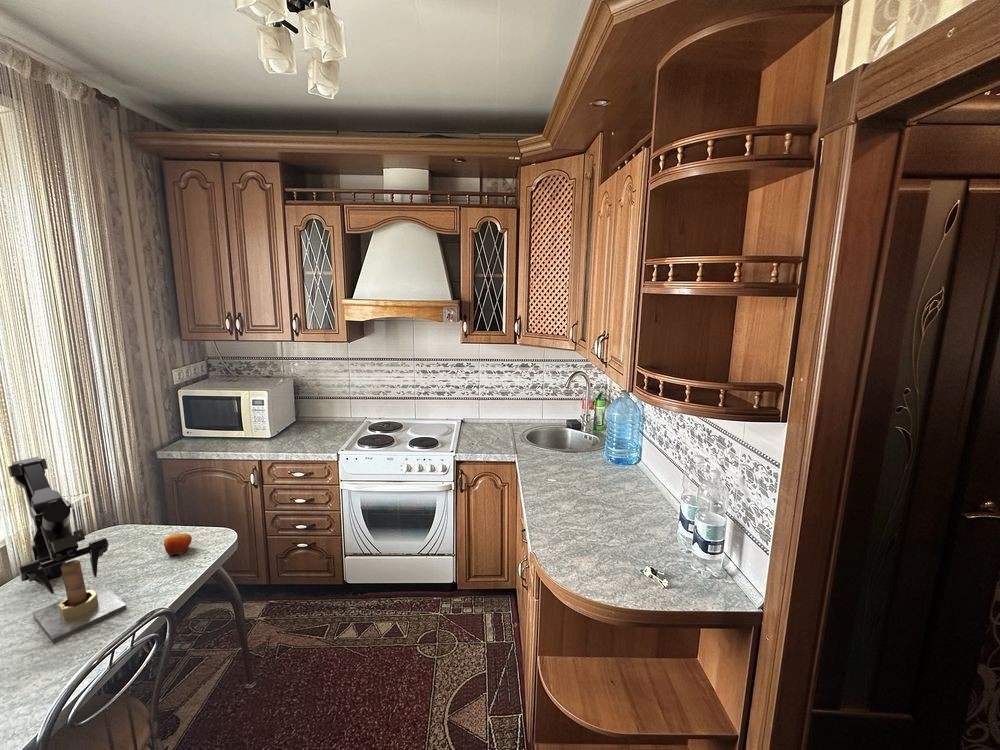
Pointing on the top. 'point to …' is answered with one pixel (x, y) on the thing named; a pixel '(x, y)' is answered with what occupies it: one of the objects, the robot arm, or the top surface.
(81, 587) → the rail post
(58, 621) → the cup bracket
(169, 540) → the fruit
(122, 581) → the top surface
